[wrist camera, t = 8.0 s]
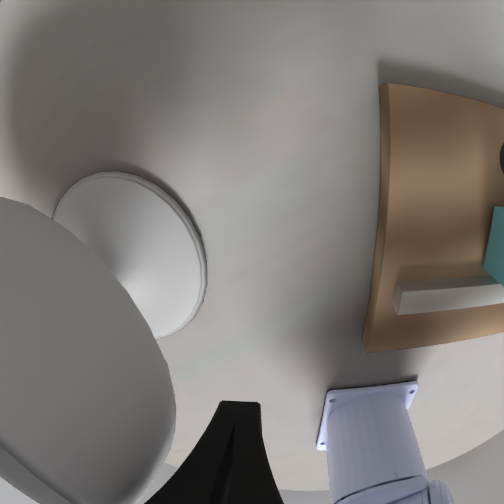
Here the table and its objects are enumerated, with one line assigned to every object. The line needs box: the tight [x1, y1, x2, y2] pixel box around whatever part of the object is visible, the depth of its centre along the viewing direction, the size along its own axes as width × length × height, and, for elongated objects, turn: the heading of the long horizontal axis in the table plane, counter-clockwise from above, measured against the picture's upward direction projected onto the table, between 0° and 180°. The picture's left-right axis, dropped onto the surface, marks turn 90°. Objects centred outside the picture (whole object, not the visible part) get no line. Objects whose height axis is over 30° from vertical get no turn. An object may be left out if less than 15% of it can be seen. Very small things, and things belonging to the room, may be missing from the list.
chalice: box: [0, 171, 207, 504], centre depth 12 cm, size 14×14×15 cm
